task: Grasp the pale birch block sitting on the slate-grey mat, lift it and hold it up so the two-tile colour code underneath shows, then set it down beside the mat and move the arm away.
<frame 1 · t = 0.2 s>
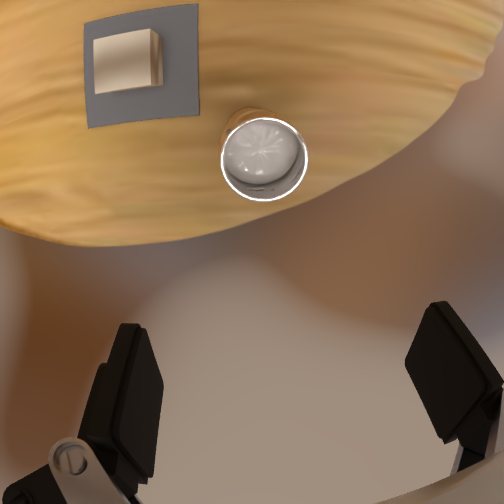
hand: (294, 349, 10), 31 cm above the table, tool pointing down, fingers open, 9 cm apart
beer glass: (251, 132, 35), on the table
birch block: (137, 64, 29), point 1 cm above the table, touching code mat
code mat: (138, 64, 30), on the table
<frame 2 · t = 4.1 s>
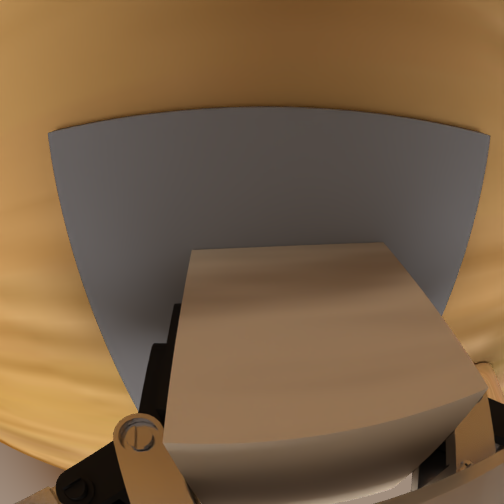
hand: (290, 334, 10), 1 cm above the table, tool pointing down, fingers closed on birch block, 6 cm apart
beer glass: (456, 389, 17), on the table
birch block: (287, 321, 11), point 1 cm above the table, touching code mat, gripper
code mat: (285, 311, 11), on the table
when the fingers open (2 cm above the table, at t = 12.2 s): birch block drops 2 cm, on the table.
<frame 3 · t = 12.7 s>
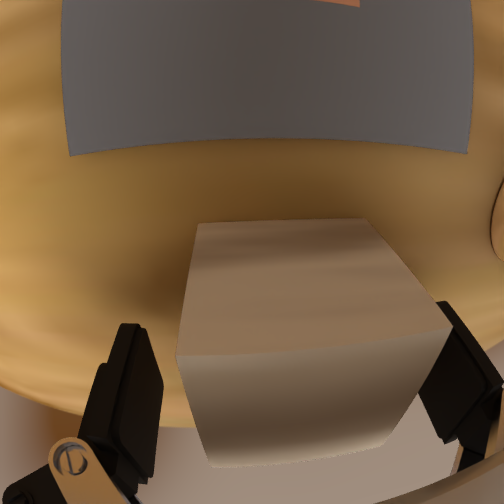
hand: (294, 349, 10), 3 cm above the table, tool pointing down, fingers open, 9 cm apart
birch block: (282, 288, 12), on the table
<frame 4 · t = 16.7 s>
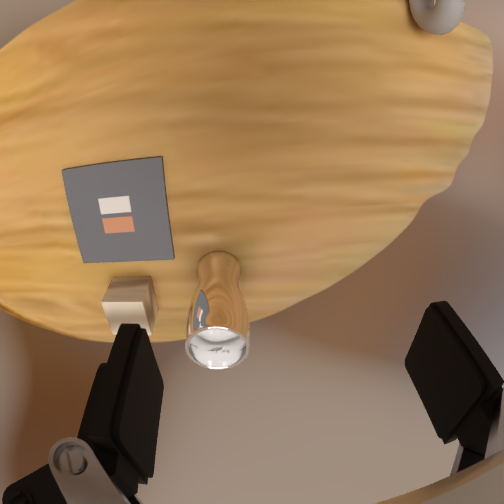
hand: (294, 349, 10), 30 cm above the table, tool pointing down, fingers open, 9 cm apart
beer glass: (219, 269, 44), on the table
donut: (413, 5, 26), on the table
birch block: (136, 292, 45), on the table
code mat: (117, 213, 38), on the table
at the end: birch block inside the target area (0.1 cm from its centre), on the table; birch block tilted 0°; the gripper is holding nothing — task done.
